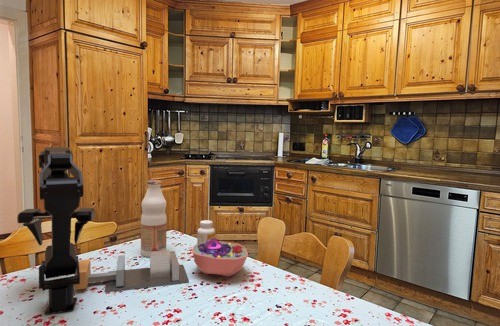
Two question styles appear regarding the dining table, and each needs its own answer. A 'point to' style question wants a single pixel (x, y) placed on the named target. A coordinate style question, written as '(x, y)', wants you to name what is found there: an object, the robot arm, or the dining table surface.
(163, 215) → the fruit juice
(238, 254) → the cell model
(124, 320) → the dining table surface
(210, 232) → the supplement bottle
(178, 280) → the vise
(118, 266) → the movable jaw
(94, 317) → the dining table surface
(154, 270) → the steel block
